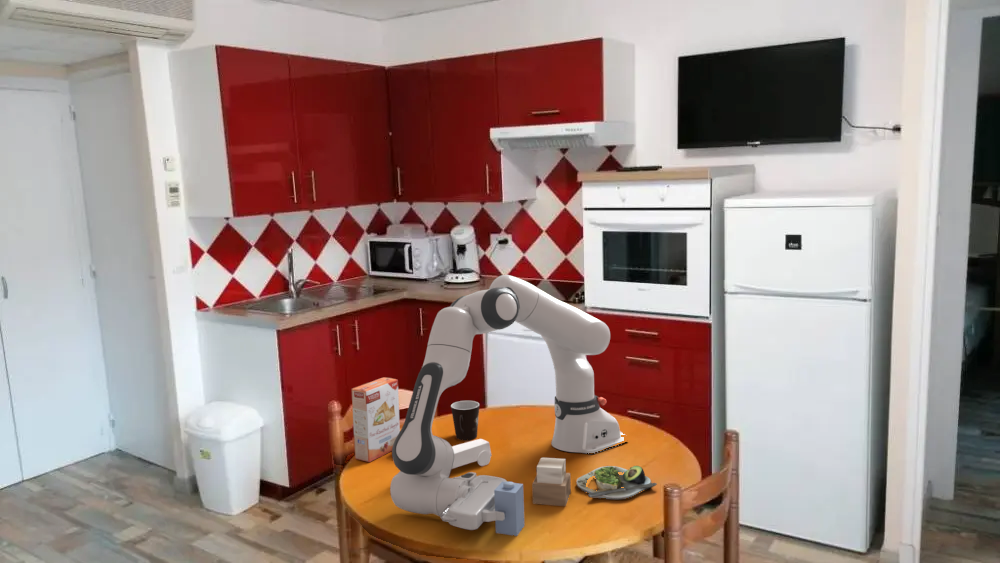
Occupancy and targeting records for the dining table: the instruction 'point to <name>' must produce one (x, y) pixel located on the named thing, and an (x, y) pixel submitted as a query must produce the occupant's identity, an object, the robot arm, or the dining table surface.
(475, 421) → the coffee mug
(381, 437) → the cracker box
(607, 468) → the salad plate
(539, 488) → the tower base
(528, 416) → the dining table surface
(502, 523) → the blue brick
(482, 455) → the toy truck
